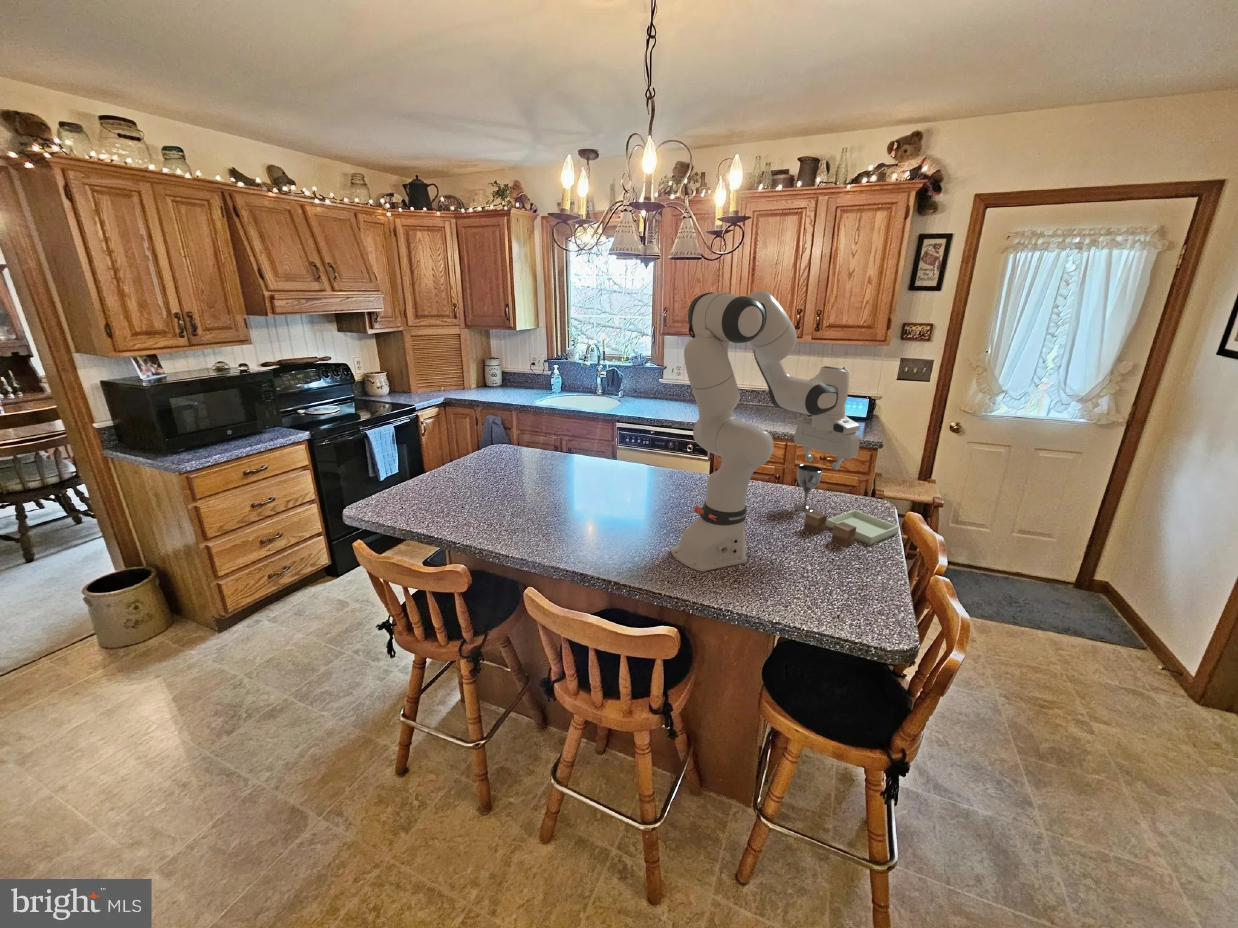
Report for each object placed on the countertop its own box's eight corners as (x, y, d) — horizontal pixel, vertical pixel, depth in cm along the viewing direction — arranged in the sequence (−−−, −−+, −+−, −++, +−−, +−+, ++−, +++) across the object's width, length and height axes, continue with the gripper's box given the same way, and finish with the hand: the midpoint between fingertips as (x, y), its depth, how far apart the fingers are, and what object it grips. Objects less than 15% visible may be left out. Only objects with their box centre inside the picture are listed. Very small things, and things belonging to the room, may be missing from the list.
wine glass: (818, 513, 171) (824, 472, 167) (794, 511, 173) (799, 470, 168) (814, 504, 179) (820, 465, 174) (791, 502, 180) (796, 463, 175)
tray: (869, 545, 150) (871, 537, 149) (825, 526, 162) (827, 519, 161) (897, 533, 157) (899, 526, 157) (853, 516, 170) (854, 509, 169)
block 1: (815, 534, 156) (818, 518, 154) (803, 528, 160) (806, 513, 158) (824, 530, 159) (827, 515, 157) (812, 525, 162) (815, 510, 160)
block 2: (844, 547, 148) (847, 530, 147) (831, 541, 152) (834, 524, 150) (853, 543, 151) (856, 527, 149) (840, 537, 154) (843, 521, 152)
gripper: (792, 415, 155) (787, 457, 159) (852, 430, 139) (845, 476, 143) (805, 413, 158) (800, 454, 163) (865, 426, 142) (858, 472, 146)
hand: (821, 464), depth 153 cm, fingers open, 8 cm apart
